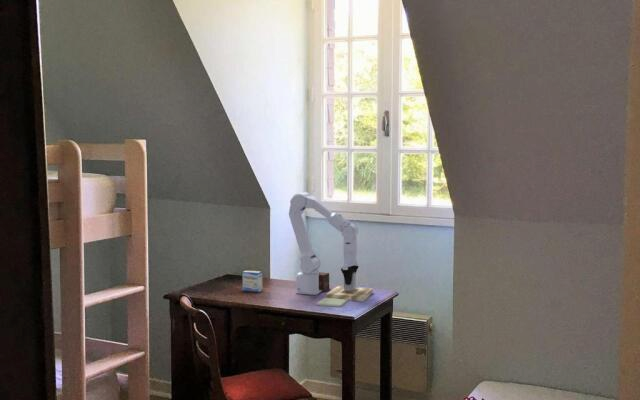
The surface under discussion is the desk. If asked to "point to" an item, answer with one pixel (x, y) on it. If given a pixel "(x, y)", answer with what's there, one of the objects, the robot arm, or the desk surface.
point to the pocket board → (357, 295)
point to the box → (323, 281)
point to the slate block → (353, 283)
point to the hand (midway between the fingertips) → (349, 283)
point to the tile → (332, 302)
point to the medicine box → (252, 281)
